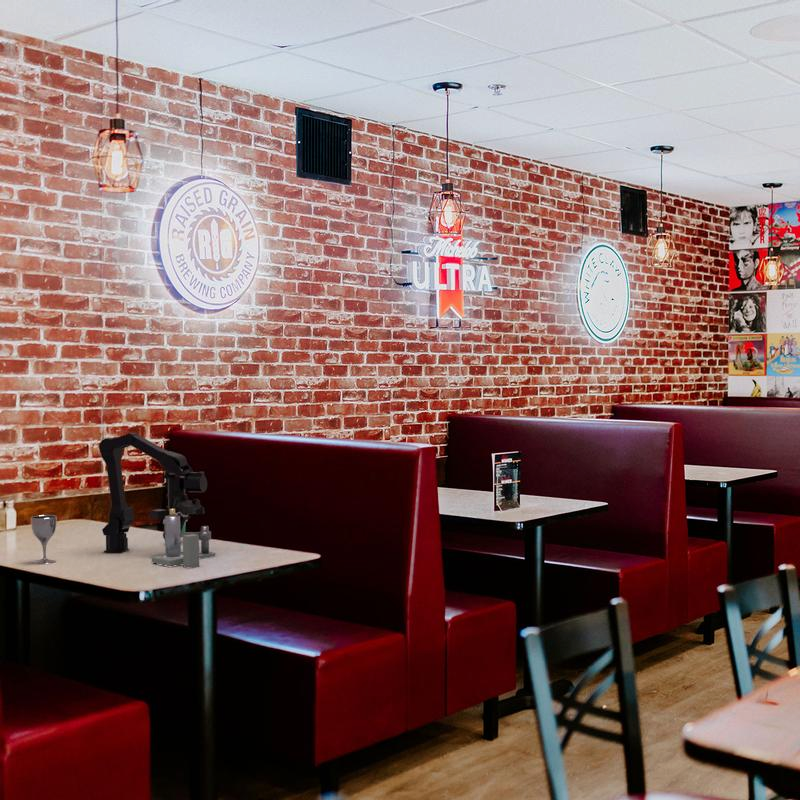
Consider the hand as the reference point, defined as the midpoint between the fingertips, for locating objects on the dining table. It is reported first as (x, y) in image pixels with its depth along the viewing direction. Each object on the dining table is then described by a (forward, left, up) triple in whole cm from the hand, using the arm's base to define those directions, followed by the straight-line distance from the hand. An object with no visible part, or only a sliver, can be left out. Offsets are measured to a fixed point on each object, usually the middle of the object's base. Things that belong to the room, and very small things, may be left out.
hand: (177, 537), depth 341 cm
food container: (-9, +21, -6) cm, 24 cm away
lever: (+5, -3, -5) cm, 7 cm away
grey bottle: (+6, -16, -4) cm, 17 cm away
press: (+11, -13, -6) cm, 18 cm away
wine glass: (-37, -21, -6) cm, 43 cm away
